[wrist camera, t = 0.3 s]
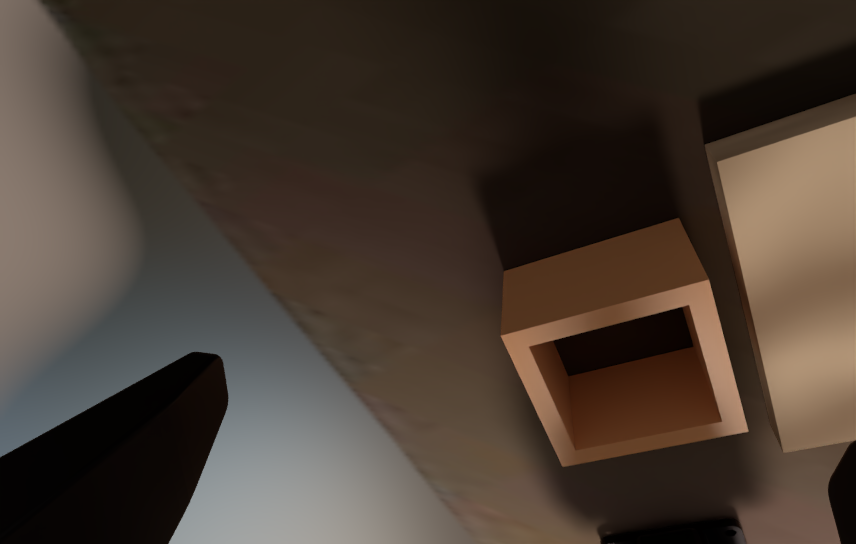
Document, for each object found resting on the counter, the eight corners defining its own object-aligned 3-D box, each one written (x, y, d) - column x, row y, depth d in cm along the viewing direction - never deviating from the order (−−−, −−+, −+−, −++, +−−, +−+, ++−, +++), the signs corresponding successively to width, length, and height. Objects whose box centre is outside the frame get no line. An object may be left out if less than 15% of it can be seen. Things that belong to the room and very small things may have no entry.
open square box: (716, 355, 24) (748, 431, 20) (557, 392, 26) (562, 467, 22) (678, 217, 21) (708, 279, 18) (503, 271, 23) (500, 335, 20)
